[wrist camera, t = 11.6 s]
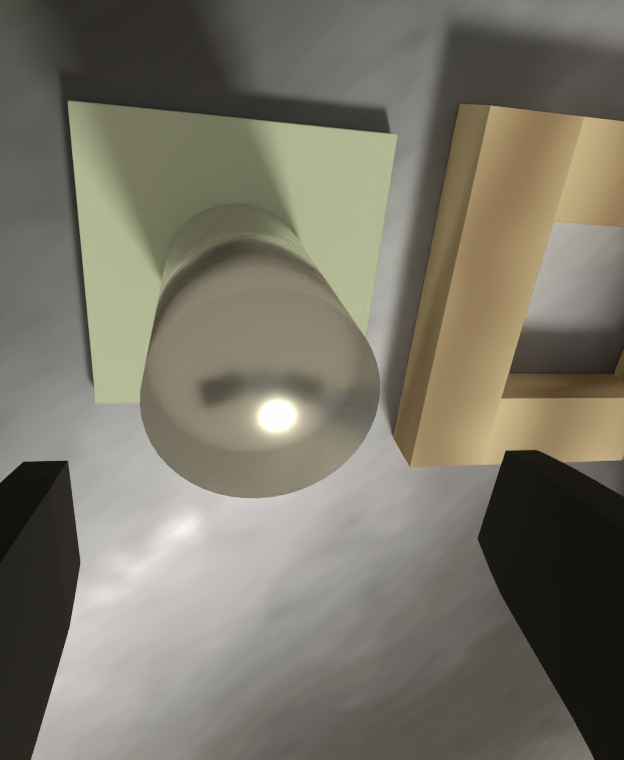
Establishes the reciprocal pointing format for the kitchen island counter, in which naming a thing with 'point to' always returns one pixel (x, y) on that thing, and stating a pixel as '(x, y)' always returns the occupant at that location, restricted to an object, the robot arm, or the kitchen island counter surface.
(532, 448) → the bore block
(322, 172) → the sage mat
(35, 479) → the robot arm
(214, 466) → the polished metal cylinder
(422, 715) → the kitchen island counter surface
